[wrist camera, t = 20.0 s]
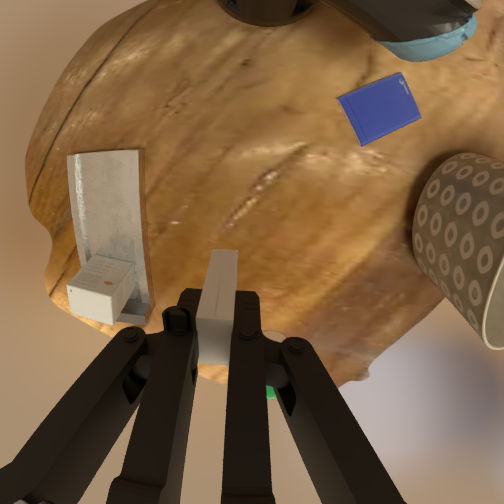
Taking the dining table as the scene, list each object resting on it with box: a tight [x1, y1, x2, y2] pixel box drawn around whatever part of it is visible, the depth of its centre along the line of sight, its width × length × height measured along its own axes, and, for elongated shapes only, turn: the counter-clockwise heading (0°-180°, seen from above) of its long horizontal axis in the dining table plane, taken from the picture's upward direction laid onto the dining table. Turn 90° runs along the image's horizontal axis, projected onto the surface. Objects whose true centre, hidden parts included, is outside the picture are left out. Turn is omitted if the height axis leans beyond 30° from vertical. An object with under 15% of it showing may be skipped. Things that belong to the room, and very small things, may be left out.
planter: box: [412, 152, 504, 350], centre depth 33 cm, size 25×25×24 cm
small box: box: [67, 255, 134, 325], centre depth 41 cm, size 8×6×10 cm
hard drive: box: [336, 72, 421, 147], centre depth 36 cm, size 2×8×12 cm
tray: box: [67, 149, 155, 325], centre depth 42 cm, size 28×13×6 cm, turn 176°
